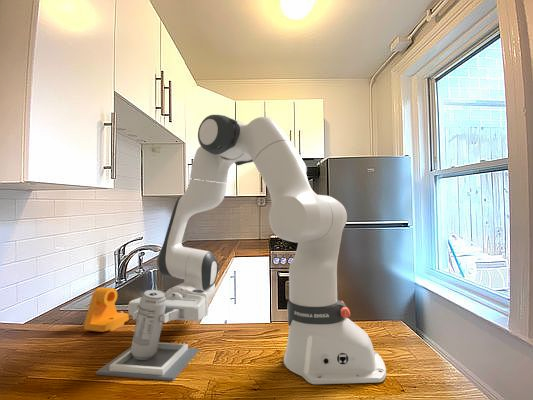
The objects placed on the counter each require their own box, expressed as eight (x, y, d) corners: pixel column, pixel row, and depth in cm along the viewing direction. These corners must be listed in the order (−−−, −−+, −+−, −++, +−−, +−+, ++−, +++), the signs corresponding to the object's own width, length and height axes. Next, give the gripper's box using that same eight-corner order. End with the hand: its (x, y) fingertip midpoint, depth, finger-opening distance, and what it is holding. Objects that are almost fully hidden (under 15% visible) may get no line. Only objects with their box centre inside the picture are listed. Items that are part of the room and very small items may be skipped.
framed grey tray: (199, 350, 77) (199, 343, 77) (173, 380, 63) (173, 372, 63) (134, 346, 80) (134, 339, 80) (96, 374, 66) (96, 366, 66)
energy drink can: (161, 355, 73) (173, 295, 73) (140, 364, 68) (152, 300, 68) (146, 344, 77) (157, 287, 76) (124, 352, 72) (136, 291, 71)
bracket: (103, 334, 88) (104, 293, 89) (84, 332, 90) (84, 291, 91) (129, 322, 98) (130, 284, 99) (111, 320, 100) (112, 283, 101)
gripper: (147, 288, 87) (111, 301, 74) (213, 292, 82) (187, 307, 68) (147, 310, 87) (111, 327, 73) (213, 315, 82) (187, 335, 68)
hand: (148, 317), depth 71 cm, fingers closed on energy drink can, 6 cm apart
